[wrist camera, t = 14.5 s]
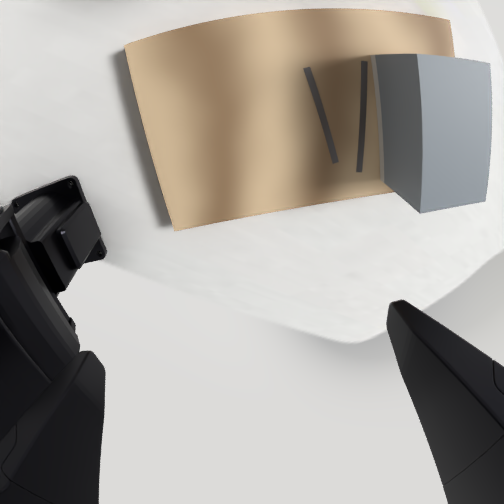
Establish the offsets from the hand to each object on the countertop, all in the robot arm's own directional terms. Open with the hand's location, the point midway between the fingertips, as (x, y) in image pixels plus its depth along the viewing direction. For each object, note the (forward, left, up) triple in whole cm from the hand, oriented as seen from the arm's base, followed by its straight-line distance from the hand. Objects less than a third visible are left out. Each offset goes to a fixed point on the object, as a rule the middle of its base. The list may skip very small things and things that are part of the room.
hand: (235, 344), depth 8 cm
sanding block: (+12, +3, -12) cm, 17 cm away
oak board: (+6, +4, -13) cm, 15 cm away
